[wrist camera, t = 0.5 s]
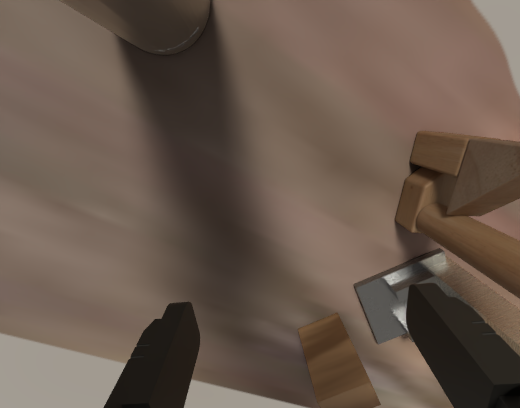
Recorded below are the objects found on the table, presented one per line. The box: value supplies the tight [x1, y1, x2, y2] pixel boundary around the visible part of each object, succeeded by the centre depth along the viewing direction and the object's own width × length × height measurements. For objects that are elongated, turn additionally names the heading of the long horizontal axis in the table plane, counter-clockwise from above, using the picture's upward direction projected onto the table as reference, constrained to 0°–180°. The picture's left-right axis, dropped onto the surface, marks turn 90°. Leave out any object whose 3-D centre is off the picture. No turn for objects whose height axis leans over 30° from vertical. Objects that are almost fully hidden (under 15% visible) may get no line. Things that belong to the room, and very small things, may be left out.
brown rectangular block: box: [298, 313, 381, 408], centre depth 33 cm, size 4×6×10 cm, turn 115°
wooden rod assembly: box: [395, 131, 520, 298], centre depth 23 cm, size 4×11×18 cm, turn 176°
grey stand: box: [354, 248, 520, 356], centre depth 27 cm, size 11×13×21 cm
